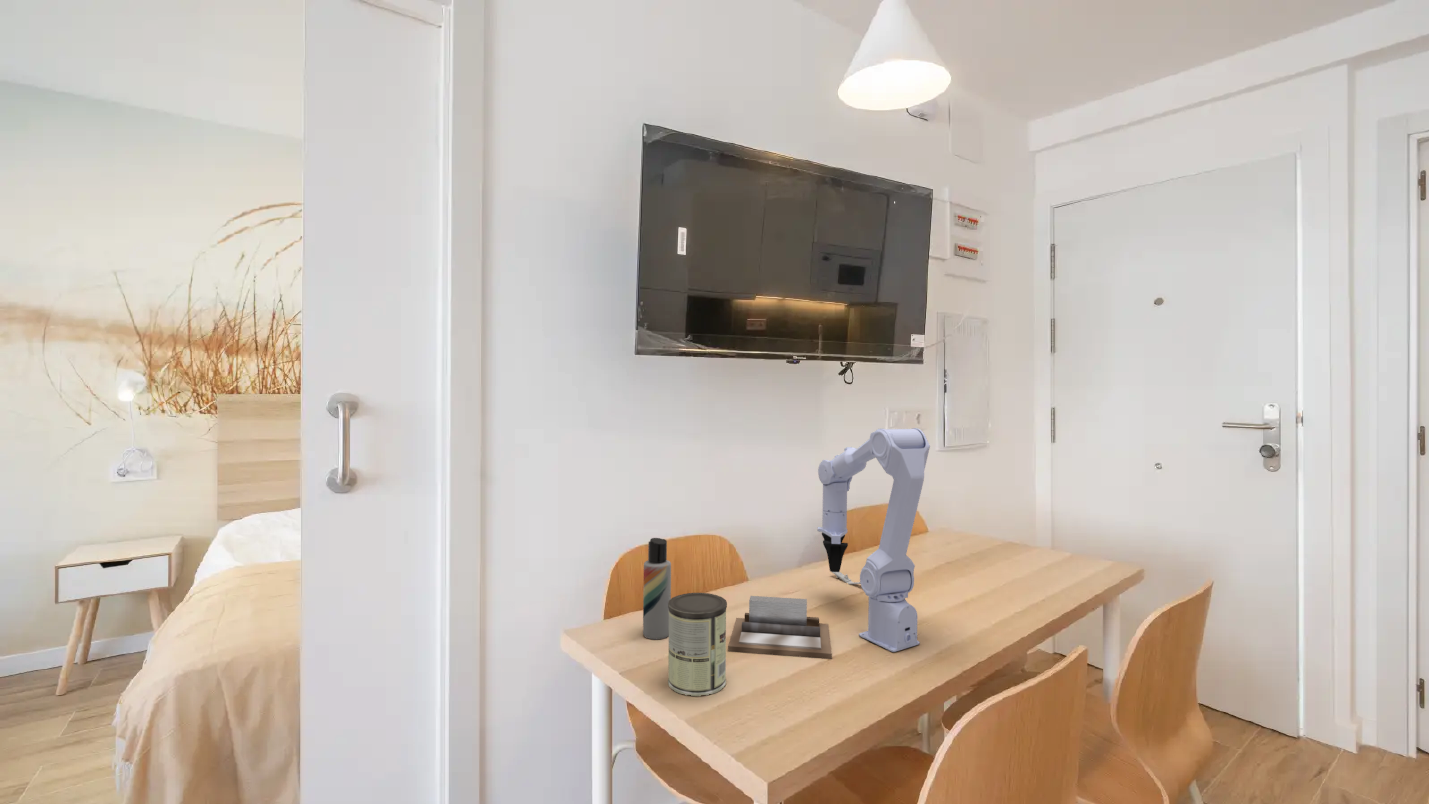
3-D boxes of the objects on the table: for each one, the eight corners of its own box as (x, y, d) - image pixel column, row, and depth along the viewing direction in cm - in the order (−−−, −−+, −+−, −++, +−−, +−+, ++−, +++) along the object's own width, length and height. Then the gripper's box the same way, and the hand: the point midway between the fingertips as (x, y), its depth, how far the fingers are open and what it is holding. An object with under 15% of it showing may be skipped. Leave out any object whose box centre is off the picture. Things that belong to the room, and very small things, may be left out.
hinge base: (828, 628, 128) (828, 614, 128) (831, 658, 113) (831, 643, 113) (736, 622, 131) (736, 608, 131) (728, 651, 116) (728, 636, 116)
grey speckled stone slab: (806, 627, 126) (806, 599, 126) (806, 632, 123) (806, 604, 123) (750, 623, 128) (750, 595, 128) (748, 628, 125) (749, 600, 125)
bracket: (871, 582, 152) (832, 555, 164) (867, 602, 153) (828, 574, 165) (876, 581, 153) (837, 554, 165) (872, 601, 154) (833, 573, 166)
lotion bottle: (656, 626, 128) (657, 534, 128) (675, 634, 124) (676, 539, 124) (637, 635, 124) (638, 539, 123) (656, 642, 120) (657, 544, 120)
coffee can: (668, 668, 109) (669, 592, 109) (724, 668, 109) (725, 592, 109) (665, 697, 98) (666, 612, 98) (727, 697, 99) (728, 612, 99)
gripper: (816, 504, 150) (816, 557, 150) (818, 515, 135) (817, 575, 135) (845, 505, 148) (844, 559, 149) (850, 516, 134) (849, 576, 134)
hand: (833, 566), depth 142 cm, fingers open, 7 cm apart
